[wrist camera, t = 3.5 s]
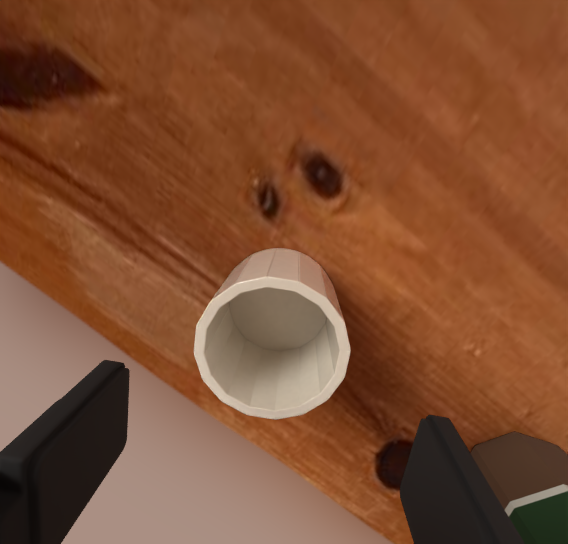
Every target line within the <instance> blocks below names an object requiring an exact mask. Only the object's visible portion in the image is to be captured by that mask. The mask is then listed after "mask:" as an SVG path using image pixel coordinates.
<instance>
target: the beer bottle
mask: <svg viewBox="0 0 568 544" xmlns="http://www.w3.org/2000/svg"><path fill="white" fill-rule="evenodd" d="M470 454H471V455H472V457H473V459H474V460H475V462H476V464H477V465H478V467H479V469H480V470H481V472H482V473H483V475H484V477H485V478H486V480H487V482H488V483H489V485H490V487H491V488H492V490H493V492H494V493H495V495H496V497H497V498H498V500H499V502H500V503H501V505H502V507H503V508H504V510H505V512H506V513H507V515H508V516H509V518H510V520H511V521H512V523H513V525H514V526H515V528H516V530H517V531H518V533H519V535H520V536H521V538H522V540H523V541H524V543H525V544H568V455H567V454H566V453H565V452H564V451H563V450H562V449H561V448H560V447H559V446H557V445H554V444H552V443H549V442H546V441H543V440H539V439H536V438H533V437H530V436H527V435H524V434H521V433H517V432H512V433H509V434H506V435H503V436H500V437H498V438H495V439H492V440H489V441H486V442H484V443H481V444H478V445H475V446H474V448H473V450H472V451H471V453H470Z"/></svg>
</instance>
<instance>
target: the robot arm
mask: <svg viewBox="0 0 568 544" xmlns="http://www.w3.org/2000/svg"><path fill="white" fill-rule="evenodd" d="M128 397H129V369H128V368H125V365H124V363H121V362H115V361H109V360H104V361H102V362H101V363H100V364H99V365H98V366H97V367H96V368H95V369H94V370H92V372H90V373H89V374H88V375H87V376H86V377H85V378H83V379H82V380H81V381H80V382H79V383H78V384H77V385H76V386H75V387H74V388H72V389H71V390H70V391H69V392H68V393H67V394H66V395H65V396H64V397H63V398H62V399H60V400H58V401H57V402H55V403H54V404H53V405H52V406H51V407H50V408H49V409H48V410H46V411H45V412H44V413H43V414H42V415H41V416H40V417H39V418H38V419H37V420H35V421H34V422H33V423H32V424H31V425H30V426H29V427H28V428H27V429H25V430H24V431H23V432H22V433H21V434H20V435H19V436H18V437H16V438H15V439H14V440H13V441H12V442H11V443H10V444H9V445H8V446H6V448H4V449H3V450H2V451H1V452H0V544H61V542H62V541H63V539H64V538H65V536H66V535H67V533H68V532H69V530H70V529H71V527H72V526H73V524H74V523H75V521H76V520H77V518H78V517H79V515H80V514H81V512H82V511H83V509H84V508H85V506H86V505H87V503H88V502H89V500H90V499H91V497H92V496H93V494H94V493H95V491H96V490H97V488H98V487H99V485H100V484H101V482H102V481H103V479H104V478H105V476H106V475H107V473H108V472H109V470H110V469H111V467H112V466H113V464H114V463H115V461H116V460H117V458H118V457H119V455H120V454H121V452H122V451H123V449H124V447H125V444H126V440H127V423H128ZM400 498H401V502H402V505H403V508H404V511H405V515H406V518H407V521H408V525H409V528H410V531H411V535H412V538H413V541H414V544H525V543H524V541H523V540H522V538H521V536H520V535H519V533H518V531H517V530H516V528H515V526H514V525H513V523H512V521H511V520H510V518H509V516H508V515H507V513H506V512H505V510H504V508H503V507H502V505H501V503H500V502H499V500H498V498H497V497H496V495H495V493H494V492H493V490H492V488H491V487H490V485H489V483H488V482H487V480H486V478H485V477H484V475H483V473H482V472H481V470H480V469H479V467H478V465H477V464H476V462H475V460H474V459H473V457H472V455H471V454H470V452H469V450H468V449H467V447H466V445H465V444H464V442H463V440H462V439H461V437H460V435H459V434H458V432H457V430H456V429H455V427H454V426H453V424H452V422H451V421H450V419H449V418H446V417H440V416H434V415H428V416H427V417H426V419H421V421H420V424H419V427H418V430H417V433H416V437H415V440H414V443H413V446H412V450H411V453H410V456H409V459H408V463H407V466H406V469H405V472H404V475H403V479H402V482H401V486H400Z"/></svg>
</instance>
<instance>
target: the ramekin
mask: <svg viewBox="0 0 568 544" xmlns="http://www.w3.org/2000/svg"><path fill="white" fill-rule="evenodd" d="M350 350H351V348H350V344H349V339H348V334H347V330H346V325H345V321H344V318H343V315H342V312H341V309H340V305H339V302H338V299H337V296H336V293H335V290H334V286H333V284H332V282H331V280H330V279H329V277H328V275H327V274H326V272H325V271H324V269H323V268H322V267H321V266H320V265H319V264H318V263H317V262H316V261H314V260H313V259H312V258H310V257H309V256H307V255H305V254H303V253H300V252H298V251H295V250H290V249H283V248H274V249H267V250H263V251H260V252H257V253H255V254H253V255H251V256H249V257H248V258H246V259H245V260H243V261H242V262H241V263H240V264H239V265H238V266H236V267H235V268H234V270H233V271H232V272H231V274H230V275H229V276H228V278H227V279H226V281H225V282H224V283H223V285H222V286H221V287H220V289H219V290H218V292H217V293H216V294H215V296H214V297H213V298H212V300H211V301H210V303H209V305H208V306H207V308H206V310H205V311H204V313H203V315H202V316H201V318H200V320H199V322H198V323H197V326H196V333H195V344H194V356H195V359H196V362H197V365H198V368H199V371H200V374H201V377H202V379H203V381H204V382H205V383H206V384H207V385H208V387H209V388H210V389H211V390H212V391H213V392H214V394H215V395H216V396H217V397H218V398H219V399H220V400H221V401H222V402H224V403H225V404H227V405H229V406H231V407H233V408H235V409H236V410H238V411H240V412H242V413H244V414H247V415H250V416H256V417H262V418H268V419H282V418H288V417H293V416H299V415H303V414H305V413H307V412H309V411H310V410H312V409H314V408H315V407H317V406H319V405H320V404H322V403H324V402H325V401H327V400H328V399H329V398H330V397H331V395H332V394H333V393H334V391H335V390H336V389H337V387H338V386H339V385H340V383H341V382H342V381H343V379H344V378H345V374H346V370H347V366H348V361H349V357H350V353H351V351H350Z"/></svg>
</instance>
